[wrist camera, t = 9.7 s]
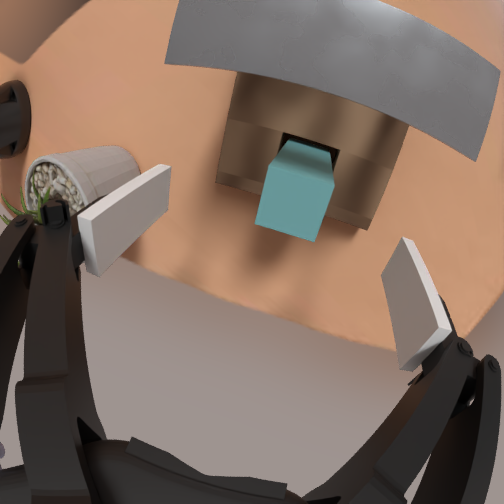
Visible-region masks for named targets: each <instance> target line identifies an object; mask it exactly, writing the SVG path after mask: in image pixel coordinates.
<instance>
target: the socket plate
mask: <svg viewBox="0 0 504 504" xmlns="http://www.w3.org/2000/svg"><path fill="white" fill-rule="evenodd" d="M408 127H409V125H408V124H406V123H404V122H401V121H399V120H397V119H395V118H393V117H390V116H388V115H386V114H383V113H381V112H379V111H376V110H374V109H371V108H369V107H366V106H364V105H361V104H358V103H356V102H353V101H350V100H347V99H344V98H341V97H339V96H335V95H332V94H329V93H326V92H323V91H320V90H316V89H313V88H309V87H306V86H302V85H298V84H294V83H290V82H286V81H282V80H278V79H273V78H269V77H264V76H259V75H254V74H248V73H242V72H237V76H236V80H235V85H234V89H233V94H232V98H231V103H230V108H229V113H228V118H227V123H226V128H225V133H224V138H223V143H222V149H221V154H220V159H219V165H218V171H217V176H216V182H215V183H219V184H223V185H226V186H230V187H234V188H237V189H241V190H244V191H248V192H251V193H255V194H258V195H262V191H263V187H264V183H265V179H266V175H267V171H268V166H269V165H270V163H271V162H272V161H273V159H274V158H275V157H276V155H277V154H278V153H279V151H280V150H281V146H282V143H283V139H284V135H285V133H289V134H292V135H296V136H299V137H302V138H306V139H309V140H312V141H315V142H319V143H322V144H325V145H328V146H331V147H334V148H336V149H337V153H336V156H335V159H334V162H333V165H332V170H333V177H334V184H335V186H334V189H333V192H332V195H331V198H330V201H329V203H328V206H327V209H326V212H325V215H324V216H327V217H330V218H333V219H336V220H339V221H342V222H345V223H348V224H350V225H353V226H356V227H359V228H362V229H364V230H368V228H369V226H370V223H371V221H372V219H373V217H374V215H375V212H376V210H377V208H378V205H379V203H380V201H381V198H382V196H383V194H384V191H385V189H386V186H387V184H388V181H389V179H390V176H391V174H392V171H393V169H394V166H395V163H396V161H397V158H398V155H399V153H400V150H401V147H402V144H403V141H404V139H405V136H406V133H407V130H408Z"/></svg>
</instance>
